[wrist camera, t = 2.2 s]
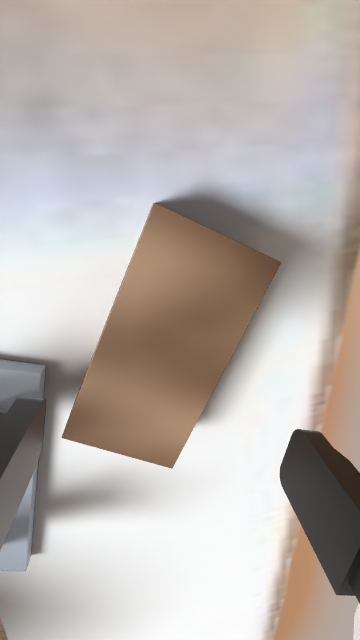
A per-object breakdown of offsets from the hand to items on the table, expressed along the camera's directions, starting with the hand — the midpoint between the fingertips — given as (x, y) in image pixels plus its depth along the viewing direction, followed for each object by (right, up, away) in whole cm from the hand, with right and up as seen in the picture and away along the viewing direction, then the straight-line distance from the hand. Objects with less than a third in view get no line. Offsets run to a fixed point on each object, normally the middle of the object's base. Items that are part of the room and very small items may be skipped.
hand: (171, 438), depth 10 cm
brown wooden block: (-1, +3, +8) cm, 9 cm away
